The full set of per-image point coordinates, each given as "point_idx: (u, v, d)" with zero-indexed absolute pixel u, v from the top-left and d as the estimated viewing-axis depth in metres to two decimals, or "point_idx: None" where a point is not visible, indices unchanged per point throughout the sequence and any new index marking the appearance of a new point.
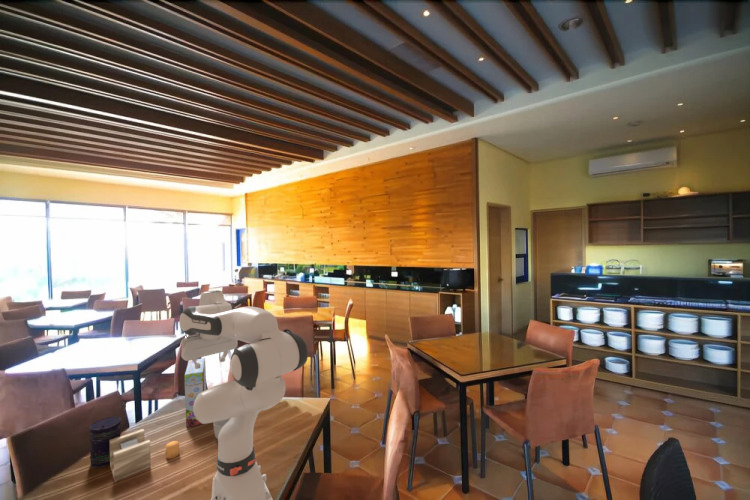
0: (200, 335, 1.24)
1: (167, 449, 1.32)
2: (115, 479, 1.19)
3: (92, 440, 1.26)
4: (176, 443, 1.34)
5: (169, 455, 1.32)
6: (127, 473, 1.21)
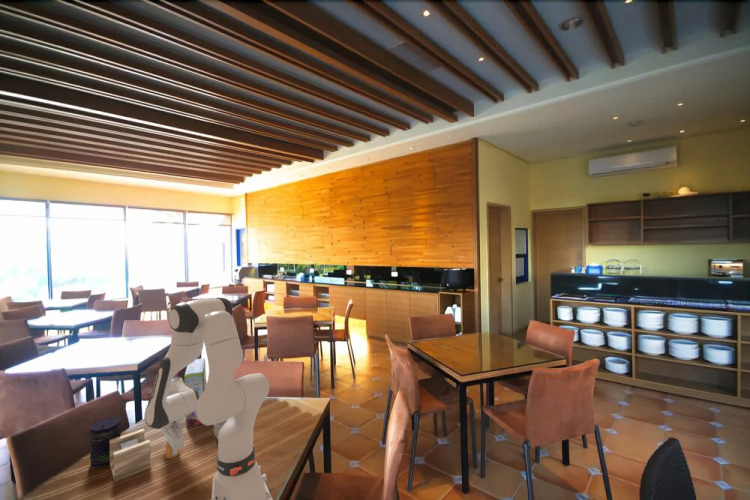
0: (177, 422, 1.31)
1: (167, 449, 1.32)
2: (115, 479, 1.19)
3: (92, 440, 1.26)
4: None
5: (169, 455, 1.31)
6: (127, 473, 1.21)
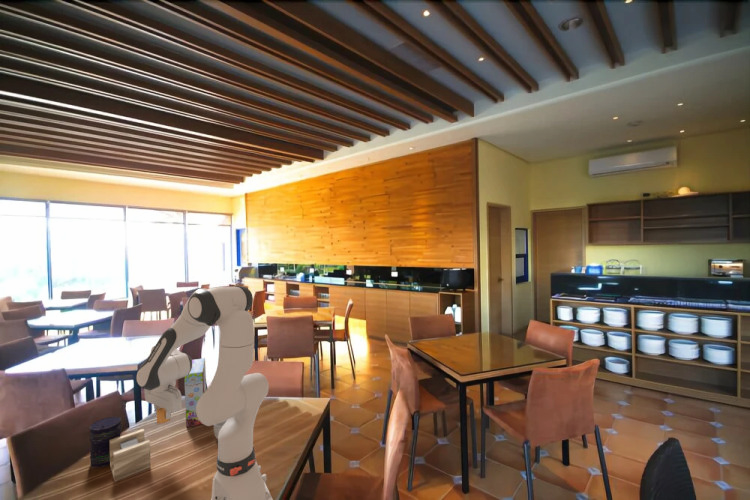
0: (171, 385, 1.31)
1: (160, 414, 1.30)
2: (115, 479, 1.19)
3: (92, 440, 1.26)
4: None
5: (162, 420, 1.30)
6: (127, 473, 1.21)
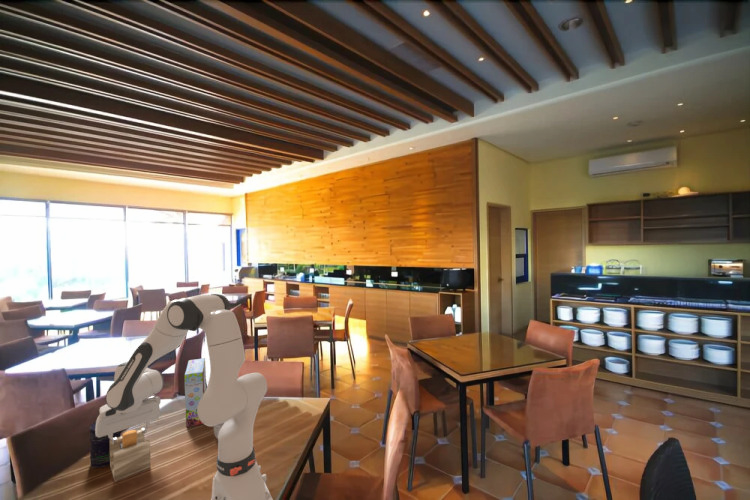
0: None
1: (134, 436, 1.26)
2: (115, 479, 1.19)
3: (92, 440, 1.26)
4: (131, 431, 1.28)
5: (135, 441, 1.27)
6: (127, 473, 1.21)
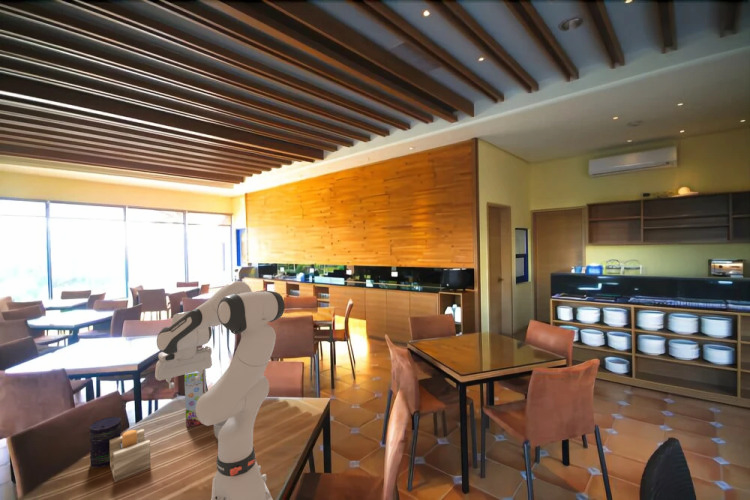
0: None
1: (134, 436, 1.26)
2: (115, 479, 1.19)
3: (92, 440, 1.26)
4: (131, 431, 1.28)
5: (135, 441, 1.27)
6: (127, 473, 1.21)
